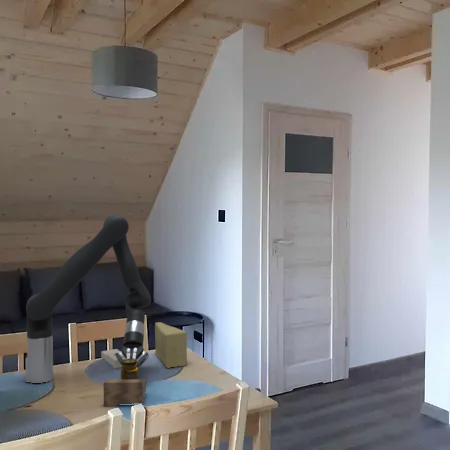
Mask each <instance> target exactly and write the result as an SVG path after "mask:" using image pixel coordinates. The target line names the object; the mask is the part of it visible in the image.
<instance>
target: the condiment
mask: <svg viewBox="0 0 450 450" xmlns="http://www.w3.org/2000/svg"><path fill="white" fill-rule="evenodd" d="M137 361H138V360H137ZM137 361H136V360H135V359H125V360H123V361H122V368H120V380H128V379H139V376H138V375H139V367H137Z"/></svg>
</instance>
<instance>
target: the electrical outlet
mask: <svg viewBox="0 0 450 450" xmlns="http://www.w3.org/2000/svg"><path fill="white" fill-rule="evenodd" d="M120 351H121V350H119V349H118V348H115V349H108V350H102V351H101V352H100V353H101V359H103V358H105V359H106V360H107V361H108V362H109V363H111V364H112V365H113V366H114V367H119V366H122V365H121V364H120V362H119V361H118V360H117V358H116V355H115V353H119V352H120ZM122 359H123V360H125V359H126V358H125V357H124V355H123V354H122Z"/></svg>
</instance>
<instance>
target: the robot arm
mask: <svg viewBox="0 0 450 450" xmlns="http://www.w3.org/2000/svg"><path fill="white" fill-rule="evenodd" d="M102 226H103V227H102V228H101V230H100V231H98V233H97V234H96V235H95V237H94V238H92V239H91V240H89V241H88V242H87V243H85V244H84V245H83V246H82V247H81V248H79V249H78V250H77V251H75V252H74V253H73V254H72V255H71V256H70V258H68V259H67V261H66V262H65V263H64V264H63V265H62V266H61V268H59V270H58V271H57V273H56V274H55V276H54V277H53V278H52V280H51V281H50V283H49V284H48V285H47V286H46V287H45V288H44V289H43V290H42V291H40V292H39V293H35V294H33V295H31V296H30V297H29V298H28V300H27V302H26V307H25V308H26V309H25V311H26V345H27V346H26V347H27V348H26V351H27V354H26V355H27V356H26V357H25V358H24V359H25V361H24V362H25V382H26V381H29V382H33V383H41V384H43V383H42V382H46V383H49V382H51V381H53V379H54V359H53V358H54V350H53V343H54V342H53V311H54V310H55V308H56V307H57V306H58V304H60V302H61V300H62V299H63V298H65V296H66V295H67V294H68V293H69V292H70V291H72V290H73V289H74V288H75V287H77V285H78V284H79V283H81V282H82V280H83V279H84V278H85V277H86V276H87V275H89V273H90V272H91V271H92V270H93V269H94V268H95V266H96V265H97V264H98V263H99V262H100V261H101V259H102V258H103V257H104V256H105V254H106V253H107V252H108V251H109V250H110V249H113V251H114V254H115V257H116V262H117V265H118V269H119V272H120V277H121V279H122V282H123V285H124V287H125V288H127V289H134V290H135V291H131V292H128V293H127V294H125V296H124V305H125V310H126V323H125V327H124V335H123V344H122V348H121V350H119V351H120V352H119V353H115V355H116V358H117V360H118V361H119V362H120V364H121V365H122V361H123V359H122V354H123V355H124V357H125V358H126V359H135V360H136V361H137V368H141V367H142V365H143V364H144V363H145V362H146V361H147V359H148V358H149V356H150V355H149V352H146V351H145V350H144V341H145V340H144V339H145V338H144V337H145V320H146V319H145V318H146V317H145V316H146V314H145V312H144V311H143V310H141V309H143V308H147V307H149V306H150V305H151V302H152V297H151V295H150V293H149V290H148V289H147V287H146V286H145V284H144V283H143V281H142V279H141V276H140V272H139V268H138V267H137V264H136V261H135V259H134V256H133V253H132V251H131V249H130V246H129V243H128V242H129V241H128V240H127V239H128V238H127V233H128V232H129V222H128V220H127V219H126V218H125V217H123V216H121V215H118V214H112V215H109V216H108V217H106V218H105V220H104V222H103V225H102ZM48 381H49V382H48Z"/></svg>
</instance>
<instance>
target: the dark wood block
mask: <svg viewBox="0 0 450 450" xmlns="http://www.w3.org/2000/svg"><path fill="white" fill-rule="evenodd" d="M145 392H146V393H147V379H146V378H142V379H139V378H138V379H128V380H121V379H112V378H111V379H105V380H104V382H103V407H118V406H117V405H120V404H132V403H133V404H134V403H142V402H143V398H144V395H145ZM145 396H146V395H145ZM143 403H144V402H143Z"/></svg>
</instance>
